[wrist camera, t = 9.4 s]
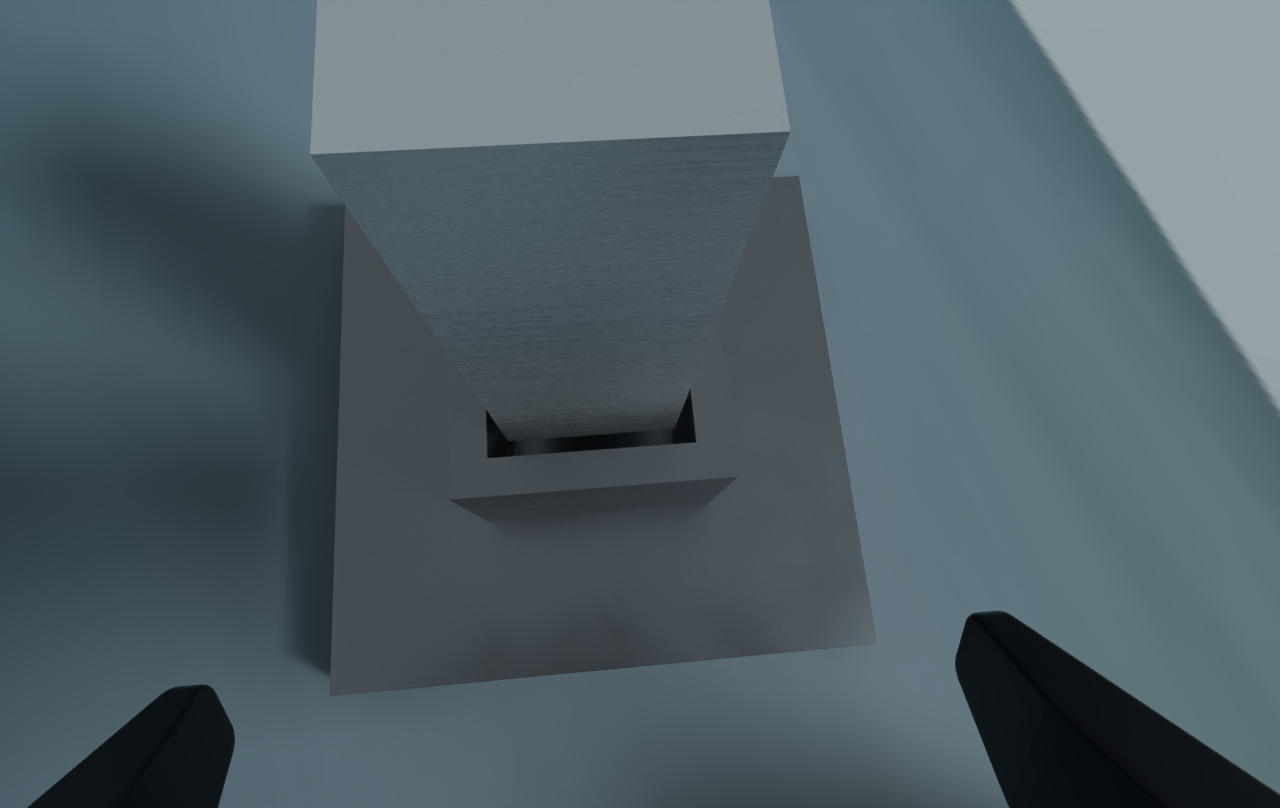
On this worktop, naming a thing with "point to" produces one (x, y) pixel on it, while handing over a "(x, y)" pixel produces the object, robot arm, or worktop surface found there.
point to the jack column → (556, 186)
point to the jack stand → (592, 499)
